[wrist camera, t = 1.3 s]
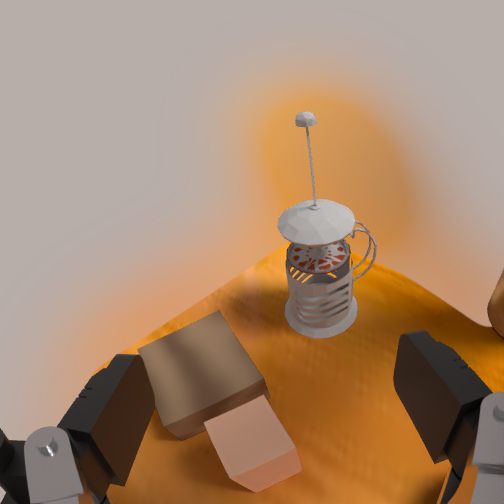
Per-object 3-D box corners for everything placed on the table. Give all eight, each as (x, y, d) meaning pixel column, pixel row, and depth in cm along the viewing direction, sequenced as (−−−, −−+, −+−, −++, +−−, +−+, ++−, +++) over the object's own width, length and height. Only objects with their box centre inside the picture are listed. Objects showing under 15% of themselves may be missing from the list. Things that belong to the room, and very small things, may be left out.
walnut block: (229, 334, 39) (219, 309, 36) (270, 398, 31) (263, 378, 28) (154, 370, 36) (137, 349, 33) (182, 441, 28) (163, 426, 25)
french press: (279, 289, 44) (245, 110, 28) (357, 273, 43) (355, 95, 28) (290, 345, 36) (251, 136, 21) (380, 325, 35) (400, 117, 20)
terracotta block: (278, 432, 27) (263, 394, 21) (302, 470, 23) (296, 447, 17) (234, 453, 26) (203, 422, 20) (255, 492, 22) (229, 478, 16)
